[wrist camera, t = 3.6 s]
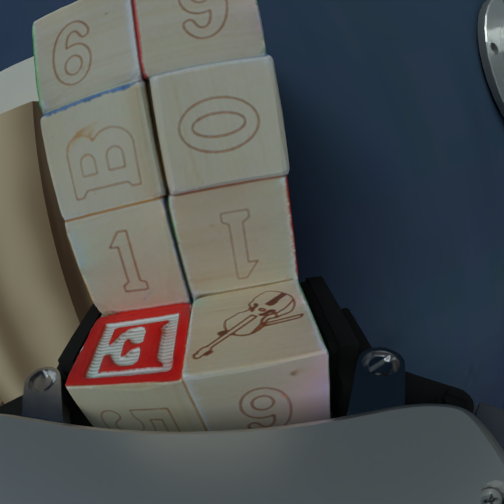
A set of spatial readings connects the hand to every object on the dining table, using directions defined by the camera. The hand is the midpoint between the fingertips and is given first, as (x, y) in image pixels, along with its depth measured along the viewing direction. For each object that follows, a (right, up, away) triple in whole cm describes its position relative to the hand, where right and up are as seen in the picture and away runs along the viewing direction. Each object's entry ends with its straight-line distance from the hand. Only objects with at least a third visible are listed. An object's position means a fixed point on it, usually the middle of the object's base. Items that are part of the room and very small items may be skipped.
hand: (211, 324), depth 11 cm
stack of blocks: (-1, +3, +7) cm, 8 cm away
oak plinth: (-14, -1, +7) cm, 16 cm away
